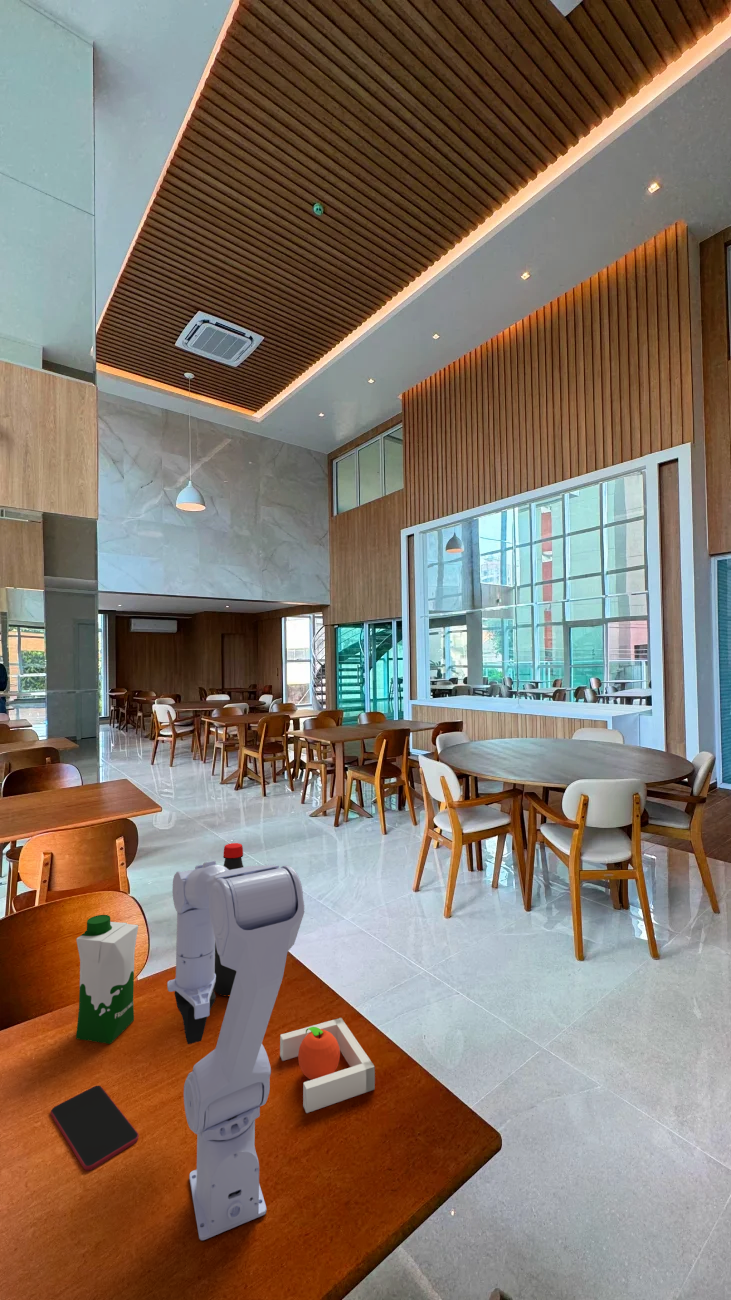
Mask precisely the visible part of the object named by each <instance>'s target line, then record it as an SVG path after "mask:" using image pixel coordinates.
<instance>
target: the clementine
mask: <svg viewBox="0 0 731 1300" xmlns="http://www.w3.org/2000/svg"><path fill="white" fill-rule="evenodd" d="M309 1027H310V1026H309ZM308 1029H309V1030H310V1031H311V1032H310V1033H309V1034H308V1035H306V1034H305V1035H306V1037H305V1038H304V1039H303V1041H302V1042H301V1045H300V1047H299V1053H298V1056H297V1058H298V1066H299V1068H300V1070H301V1072H302V1074H303V1075H304V1076H305V1077H306V1078H307V1079H309V1081H310V1080H313V1079H316V1078H319V1077H322V1076H325V1075H328V1074H331V1073H334V1072H337V1071H336V1070H337V1068H338V1066H339V1063H340V1058H341V1051H340V1048H339V1045H338V1042H337V1040H336V1038H335V1037H334V1036H333V1035H332V1034H331V1033H330V1032H328V1031H326V1030H322V1029H319V1028H317V1027H310V1028H308ZM308 1029H307V1030H308ZM307 1030H306V1033H307Z"/></svg>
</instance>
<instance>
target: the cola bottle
mask: <svg viewBox="0 0 731 1300" xmlns="http://www.w3.org/2000/svg"><path fill="white" fill-rule="evenodd" d="M243 857H244V848H243V845H242V843H239V842H232V843H231V842H230V843H227V844H225V845H224V848H223V856H222V858H223V859H224V863H223V866H224V867H226V868H227V869H228V870H232V869H238V868H243V867H244V864H243V860H242V858H243ZM215 974H216V982H215V985H214V988H213V991H214V993H215V994H216V993H217V994H218V995H220V994H221V995H220V996H223V995H230V994H231V990H232V986H233V983H234V979H235V975H236V971H235V970H233V969H230V968H228V967H225V966H223V965H221V962H220V956H219V955H218V952H217V948H216V942H215Z"/></svg>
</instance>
